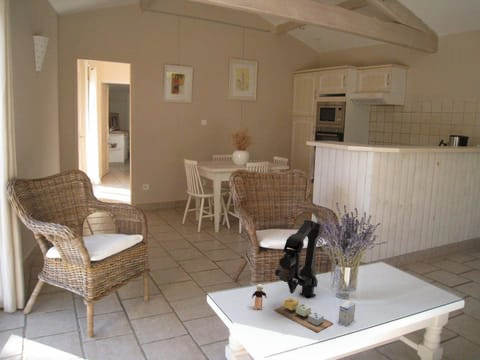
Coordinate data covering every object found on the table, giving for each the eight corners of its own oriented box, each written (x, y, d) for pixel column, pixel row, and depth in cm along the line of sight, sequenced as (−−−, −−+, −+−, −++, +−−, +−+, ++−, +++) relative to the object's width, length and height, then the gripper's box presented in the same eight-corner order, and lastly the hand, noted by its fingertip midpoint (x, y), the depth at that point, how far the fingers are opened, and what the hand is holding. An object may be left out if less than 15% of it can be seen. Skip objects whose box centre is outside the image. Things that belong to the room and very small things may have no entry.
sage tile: (302, 309, 195) (302, 303, 194) (310, 313, 191) (310, 307, 190) (295, 312, 191) (295, 306, 191) (303, 316, 188) (304, 310, 187)
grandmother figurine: (252, 311, 196) (253, 286, 194) (250, 307, 200) (251, 283, 198) (267, 309, 198) (268, 285, 196) (264, 305, 202) (266, 282, 200)
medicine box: (345, 317, 193) (346, 300, 192) (354, 320, 191) (355, 303, 189) (338, 323, 187) (339, 305, 186) (347, 326, 185) (348, 308, 183)
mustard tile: (290, 303, 200) (290, 297, 200) (298, 307, 196) (298, 301, 196) (283, 306, 197) (284, 300, 196) (291, 310, 193) (291, 304, 193)
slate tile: (314, 317, 189) (315, 311, 189) (323, 322, 186) (323, 315, 185) (308, 321, 186) (308, 315, 186) (316, 325, 182) (317, 319, 182)
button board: (290, 303, 205) (290, 302, 205) (333, 324, 186) (333, 322, 186) (274, 310, 197) (274, 309, 197) (317, 333, 178) (317, 331, 178)
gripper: (267, 260, 194) (266, 291, 197) (298, 272, 181) (296, 305, 183) (283, 255, 202) (281, 285, 204) (313, 267, 188) (311, 298, 191)
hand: (291, 293), depth 195 cm, fingers closed
